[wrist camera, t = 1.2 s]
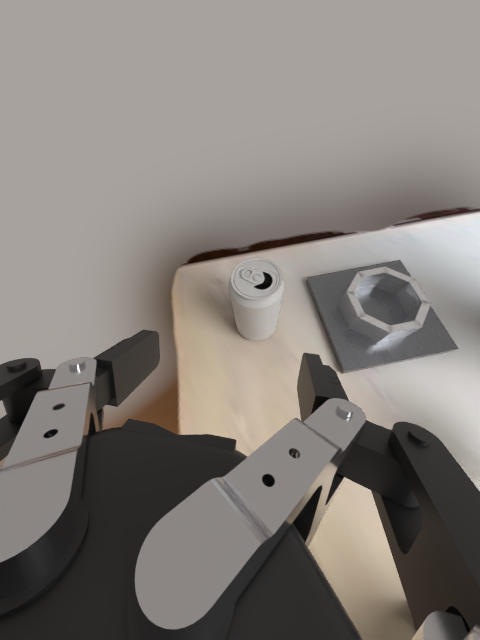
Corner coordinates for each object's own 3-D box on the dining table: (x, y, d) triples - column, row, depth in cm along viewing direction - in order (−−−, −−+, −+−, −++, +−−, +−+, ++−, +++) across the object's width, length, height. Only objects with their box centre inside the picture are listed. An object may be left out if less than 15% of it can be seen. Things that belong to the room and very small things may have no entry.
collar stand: (396, 263, 38) (413, 244, 34) (452, 351, 31) (481, 339, 27) (306, 281, 38) (312, 263, 34) (342, 373, 31) (355, 365, 27)
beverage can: (265, 349, 33) (269, 311, 23) (228, 331, 35) (216, 287, 24) (283, 316, 36) (295, 266, 25) (248, 300, 37) (245, 247, 26)
